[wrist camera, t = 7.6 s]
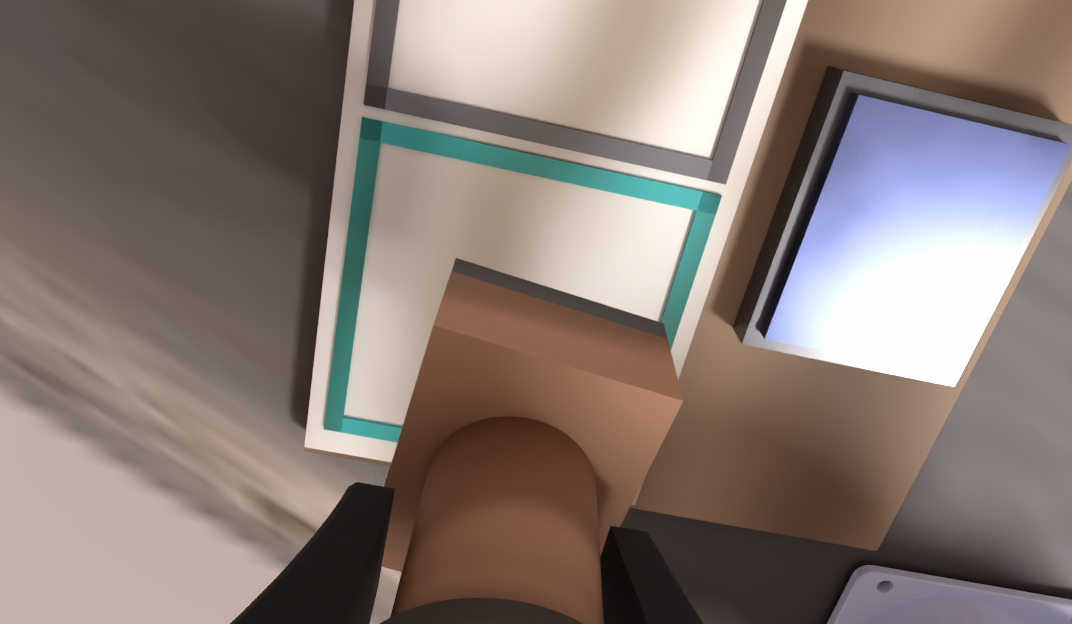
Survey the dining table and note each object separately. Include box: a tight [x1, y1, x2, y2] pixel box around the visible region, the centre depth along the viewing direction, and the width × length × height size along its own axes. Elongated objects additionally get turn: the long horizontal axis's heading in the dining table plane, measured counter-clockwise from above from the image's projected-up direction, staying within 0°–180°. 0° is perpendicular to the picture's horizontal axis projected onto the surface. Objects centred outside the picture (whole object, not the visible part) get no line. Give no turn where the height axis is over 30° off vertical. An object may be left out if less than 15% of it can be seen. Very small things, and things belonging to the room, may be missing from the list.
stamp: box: [380, 258, 683, 624], centre depth 11 cm, size 5×4×8 cm
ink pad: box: [732, 66, 1072, 387], centre depth 19 cm, size 6×7×1 cm
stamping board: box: [305, 0, 1072, 551], centre depth 19 cm, size 18×20×1 cm
